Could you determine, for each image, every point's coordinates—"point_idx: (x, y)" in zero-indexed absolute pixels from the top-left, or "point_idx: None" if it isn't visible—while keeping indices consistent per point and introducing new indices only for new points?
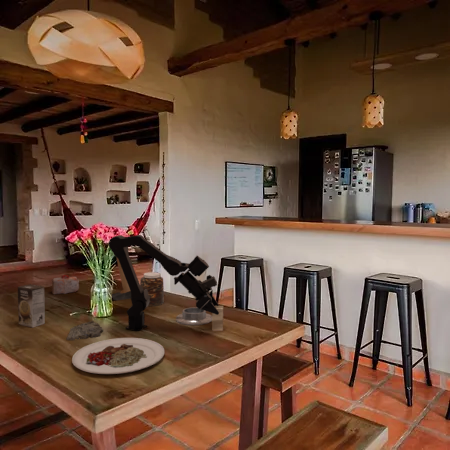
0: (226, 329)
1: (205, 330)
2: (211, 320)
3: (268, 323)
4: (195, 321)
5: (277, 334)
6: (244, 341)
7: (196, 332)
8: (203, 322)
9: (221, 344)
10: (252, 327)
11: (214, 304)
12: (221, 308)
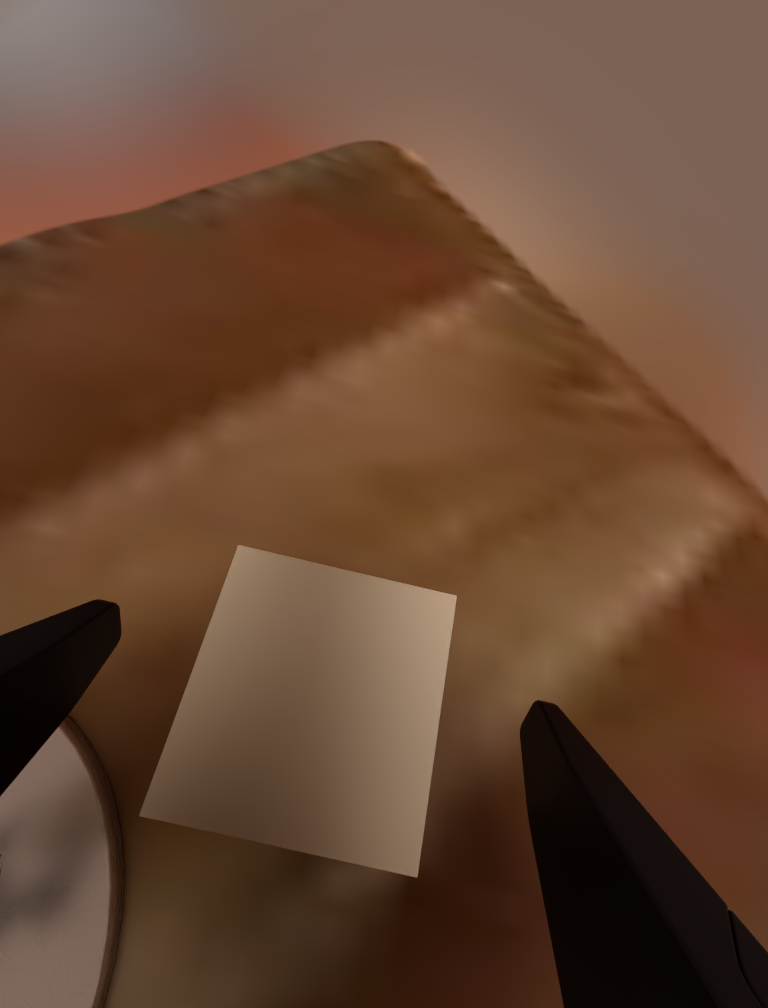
0: None
1: None
2: None
3: (303, 254)
4: (19, 993)
5: (526, 284)
6: (662, 510)
7: (405, 985)
8: (106, 840)
9: (750, 717)
10: (363, 370)
11: (18, 729)
12: (417, 622)
